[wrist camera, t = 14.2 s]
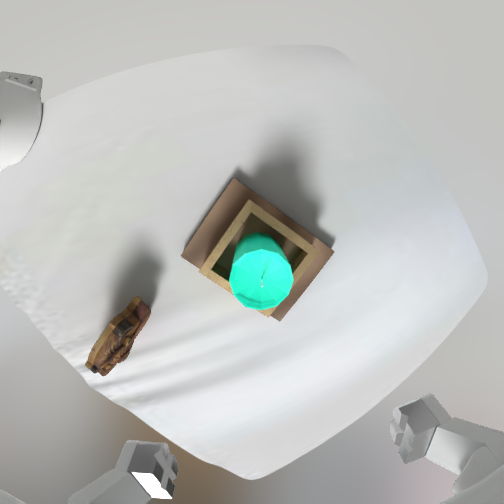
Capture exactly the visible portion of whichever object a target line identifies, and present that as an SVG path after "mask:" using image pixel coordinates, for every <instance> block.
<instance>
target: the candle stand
mask: <svg viewBox="0 0 504 504" xmlns="http://www.w3.org/2000/svg"><path fill="white" fill-rule="evenodd" d="M255 232H261V233H265V234H269V235H271V236H272V237H273V238H274V239H275V240H276V241H277V242H278V243H279V245H280V247H281V249H282V251H283V253H284V255H285V256H286V258H287V260H288V262H289V264H290V266H291V271H292V275H293V279H294V281H293V284H292V286H291V289H290V292H289V295H288V296H287V297H286V298H285V299H284V300H283V301H282V302H281V303H280V304H279V305H278V306H276V307H272V308H268V309H264V310H258V311H259V312H261V313H262V314H264V315H266V316H267V317H269V316H272V317H273V318H275V319H277V320H278V321H281V319H282V318H283V317H284V316H285V315H286V313H287V312H288V311H289V310H290V308H291V307H292V306H293V305H294V303H295V302H296V301H297V300H298V298H299V297H300V296H301V295H302V293H303V292H304V291H305V290H306V288H307V287H308V286H309V285H310V283H311V282H312V281H313V279H314V278H315V277H316V276H317V274H318V273H319V272H320V270H321V269H322V268H323V266H324V265H325V264H326V262H327V261H328V260H329V258H330V257H331V256H332V254H333V253H334V251H333V250H332V249H330V248H329V247H328V246H326V245H325V244H324V243H323V242H321V241H320V240H319V239H317V238H316V237H315V236H313V235H312V234H311V233H309V232H308V231H307V230H305V229H304V228H303V227H301V226H300V225H299V224H297V223H296V222H295V221H293V220H292V219H291V218H289V217H288V216H286V215H285V214H284V213H282V212H281V211H280V210H278V209H277V208H275V207H274V206H273V205H271V204H270V203H269V202H267V201H266V200H264V199H263V198H262V197H260V196H259V195H257V194H256V193H255V192H253V191H252V190H250V189H249V188H247V187H246V186H245V185H243V184H242V183H240V182H239V181H237V180H236V179H234V178H233V179H232V181H231V182H230V184H229V185H228V186H227V188H226V189H225V191H224V192H223V194H222V195H221V196H220V198H219V199H218V201H217V202H216V204H215V205H214V206H213V208H212V209H211V211H210V212H209V214H208V215H207V217H206V218H205V220H204V221H203V223H202V224H201V226H200V227H199V229H198V230H197V232H196V233H195V235H194V236H193V238H192V239H191V241H190V242H189V244H188V245H187V247H186V248H185V250H184V251H183V253H182V254H181V256H182V257H183V258H184V259H186V260H187V261H189V262H190V263H192V264H193V265H195V266H196V267H198V268H199V269H200V270H199V272H200V273H202V274H203V275H204V276H206V277H207V278H209V279H210V280H212V281H213V282H215V283H216V284H218V285H219V286H221V287H222V288H224V289H225V290H227V291H228V292H230V293H231V294H233V291H232V288H231V286H230V283H229V278H230V273H231V268H232V263H233V258H234V254H235V250H236V246H237V243H238V242H239V241H240V240H241V239H242V238H243V237H244V236H245V235H247V234H251V233H255ZM233 295H234V294H233ZM256 310H257V309H256Z"/></svg>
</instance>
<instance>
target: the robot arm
mask: <svg viewBox="0 0 504 504" xmlns="http://www.w3.org/2000/svg"><path fill="white" fill-rule="evenodd" d="M41 87H42V78H40V77H36V76H30V75H24V74H17V73H10V72H1V73H0V172H1V171H2V170H3V169H4V168H5V167H8V166H12V165H15V164H16V163H18V162H19V161H21V160H22V159H23V158H24V156H25V155H26V154H27V153H28V151H29V150H30V148H31V146H32V144H33V142H34V140H35V138H36V135H37V133H38V130H39V126H40V122H41V115H42V104H41V97H40V92H41ZM392 415H393V416H394V419H393V420H392V421H391V424H390V434H391V437H392V440H393V442H394V444H396V445H398V446H400V449H399V454H400V456H401V458H402V460H403V462H404V463H405V464H406V463H408V462H411V461H414V460H417V459H419V458H422V457H424V456H425V457H426V458H428V459H429V460H431V461H433V462H435V463H437V464H438V465H440V466H442V467H444V468H446V469H448V470H450V471H452V472H454V473H456V474H458V475H459V477H458V478H457V480H456V481H455V483H454V485H453V486H452V490H453V492H454V494H455V496H453V497H451V498H450V499H448V500H446V501H444V502H442V503H440V504H504V433H503V432H502V431H498V430H495V429H491V428H488V427H484V426H481V425H478V424H474V423H471V422H468V421H465V420H462V419H458V418H453V419H452V418H451V417H450V415H449V414H448V413H447V412H446V410H445V409H444V408H443V407H442V406H441V404H440V403H439V402H438V400H437V399H436V398H435V397H434V395H432V394H428V395H425V396H423V397H420V398H417V399H415V400H412V401H410V402H407V403H404V404H402V405H399V406H396V407H395V408H394V409H393V413H392ZM169 449H170V448H169V447H168V445H167V443H159V442H146V441H133V440H128V441H127V442H126V443H125V445H124V447H123V450H122V452H121V454H120V457H119V459H118V462H117V464H116V467H115V469H114V470H109V471H108V472H107V473H105V474H104V475H102V476H101V477H99V478H98V479H96V480H95V481H94V482H92V483H90V484H89V485H87V486H86V487H84V488H83V489H81V490H79V491H78V492H76V493H75V494H73V495H72V496H70V498H69V500H68V503H67V504H146V503H147V502H148V501H149V500H150V499H151V497H155V498H168V499H172V497H173V492H174V487H175V485H174V483H173V482H172V480H173V479H175V478H176V477H177V472H178V465H177V461H176V458H175V456H173V455H172V454H171V453H169ZM0 504H26V503H24V502H23V501H21V500H19V499H17V498H15V497H14V496H12V495H10V494H9V493H7V492H5V491H3V490H1V489H0Z"/></svg>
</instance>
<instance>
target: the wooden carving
mask: <svg viewBox="0 0 504 504" xmlns="http://www.w3.org/2000/svg"><path fill="white" fill-rule="evenodd" d="M150 314H151V310H150V308H149V307H148V306H147V305H146V304H144V302H143V301H142V300H141V298H140V297H139V296H136V297H135V298H134V299H133V300H132V301H131V302H130V304H129V306H128V307H127V308H126V309H125V310H124V311H123V312H122V313H121V314H119V315H117V316H116V317H114V318H113V320H112V321H111V322H110V323H109V325H108V326H107V328H106V329H105V330H104V332H103V333H102V334H101V336H100V337H99V339H98V340H97V341H96V343H95V344H94V346H93V348H92V350H91V352H90V353H89V356H88V361H87V362H86V364H85V366H86V367H87V368H88V369H90V370H91V371H92V372H93V373H97V372H99V373H100V374H101V375H102V376H105V375H107V374H108V373H109V372H110V371H111V370H112V369H113V368H114V366H115V365H116V363H120V362H122V361H124V360H125V359H126V358H127V357H128V355H129V353H130V352H129V351H130V349H131V347H132V345H133V342H134V339H135V338H136V336H137V335H138V334H139V332H140V331H141V330H142V328H143V327H144V325H145V323H146V322H147V320H148V318H149V316H150Z"/></svg>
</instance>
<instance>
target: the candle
mask: <svg viewBox="0 0 504 504" xmlns="http://www.w3.org/2000/svg"><path fill="white" fill-rule="evenodd" d="M293 281H294V279H293V275H292V271H291V266H290V264H289V262H288V260H287V258H286V256H285V255H284V253H283V251H282V249H281V247H280V245H279V243H278V242H277V241H276V240H275V239H274V238H273V237H272V236H271V235H269V234H265V233H261V232H255V233H251V234H247V235H245V236H244V237H243V238H242V239H241V240H240V241H239V242H238V243H237V246H236V250H235V254H234V258H233V263H232V268H231V273H230V278H229V283H230V286H231V288H232V291H233V294H234V296H235V297H236V298H237V299H238V300H239V301H240V302H241V303H242V304H243V305H244V306H245V307H247V308H252V309H257V310H264V309H268V308H272V307H276V306H278V305H279V304H280V303H281V302H282V301H283V300H284V299H285V298H286V297H287V296H288V295H289V292H290V289H291V286H292V284H293Z"/></svg>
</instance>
